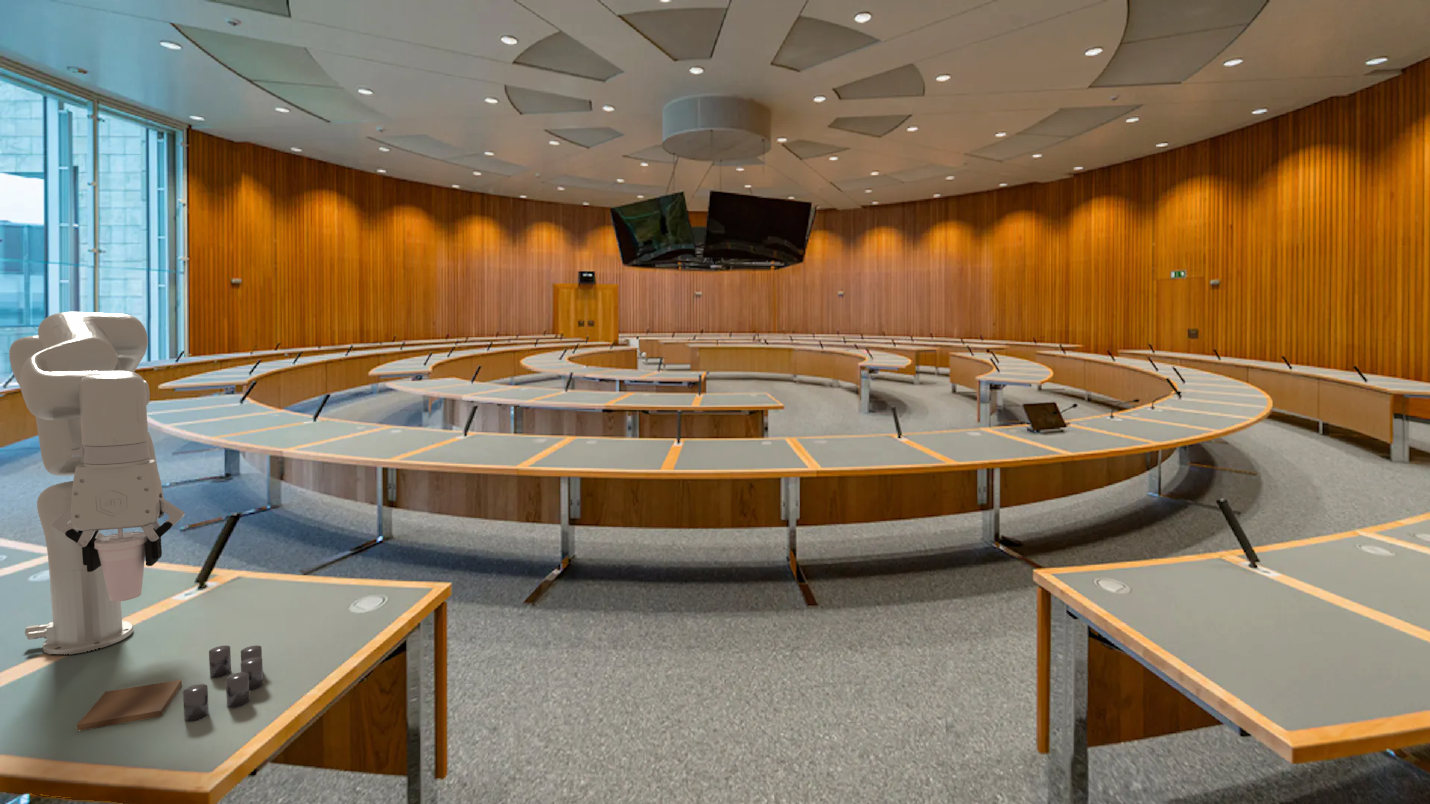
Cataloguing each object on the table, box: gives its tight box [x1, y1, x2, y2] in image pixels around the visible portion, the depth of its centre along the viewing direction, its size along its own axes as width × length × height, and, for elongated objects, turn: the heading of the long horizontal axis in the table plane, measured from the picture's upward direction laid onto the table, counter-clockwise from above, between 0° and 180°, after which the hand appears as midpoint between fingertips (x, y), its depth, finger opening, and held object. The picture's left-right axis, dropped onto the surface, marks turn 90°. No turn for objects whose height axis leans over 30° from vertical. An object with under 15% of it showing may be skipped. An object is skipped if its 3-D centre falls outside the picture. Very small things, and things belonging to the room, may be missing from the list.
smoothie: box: [94, 528, 148, 602], centre depth 101 cm, size 6×6×14 cm
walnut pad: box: [76, 679, 183, 732], centre depth 103 cm, size 10×10×1 cm
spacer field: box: [182, 645, 264, 723], centre depth 109 cm, size 9×17×4 cm, turn 25°
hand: (123, 565), depth 101 cm, fingers closed on smoothie, 6 cm apart
